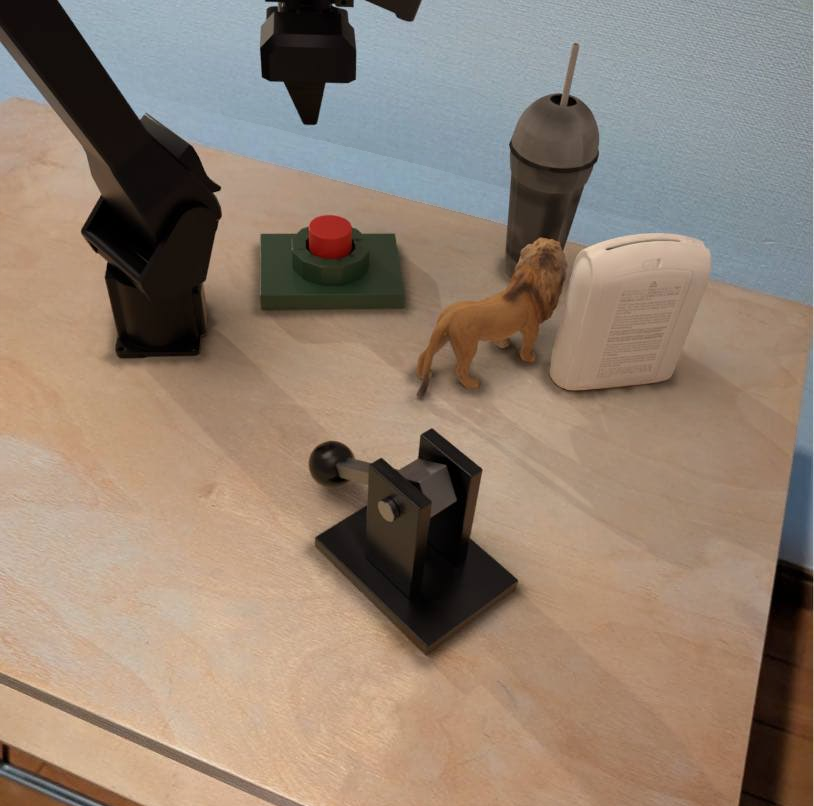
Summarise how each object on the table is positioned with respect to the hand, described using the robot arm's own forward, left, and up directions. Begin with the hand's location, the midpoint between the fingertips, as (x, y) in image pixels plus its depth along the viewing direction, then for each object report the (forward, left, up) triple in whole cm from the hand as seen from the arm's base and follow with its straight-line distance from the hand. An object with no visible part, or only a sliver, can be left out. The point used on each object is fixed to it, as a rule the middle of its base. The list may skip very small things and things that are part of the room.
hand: (310, 122), depth 71 cm
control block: (+1, -2, -13) cm, 13 cm away
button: (+1, -2, -10) cm, 10 cm away
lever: (+3, -31, -9) cm, 33 cm away
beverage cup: (+19, -1, -13) cm, 23 cm away
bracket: (+5, -34, -13) cm, 37 cm away
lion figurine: (+13, -13, -13) cm, 23 cm away
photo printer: (+23, -15, -13) cm, 31 cm away
